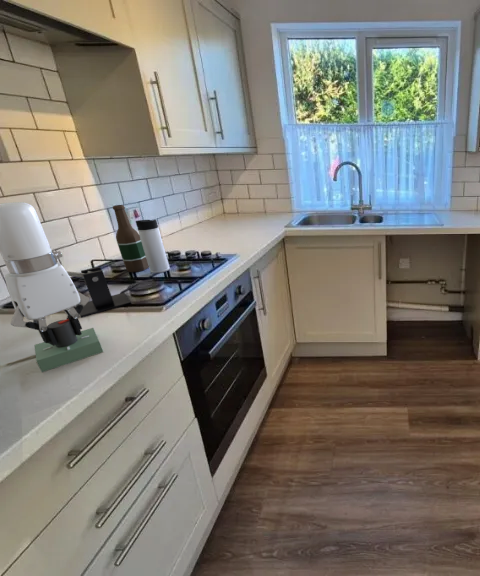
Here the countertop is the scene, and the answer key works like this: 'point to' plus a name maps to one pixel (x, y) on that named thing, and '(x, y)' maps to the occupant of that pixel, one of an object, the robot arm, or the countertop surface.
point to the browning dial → (63, 332)
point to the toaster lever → (76, 274)
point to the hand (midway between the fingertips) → (64, 338)
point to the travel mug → (153, 246)
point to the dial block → (67, 351)
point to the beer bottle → (129, 242)
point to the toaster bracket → (100, 294)
